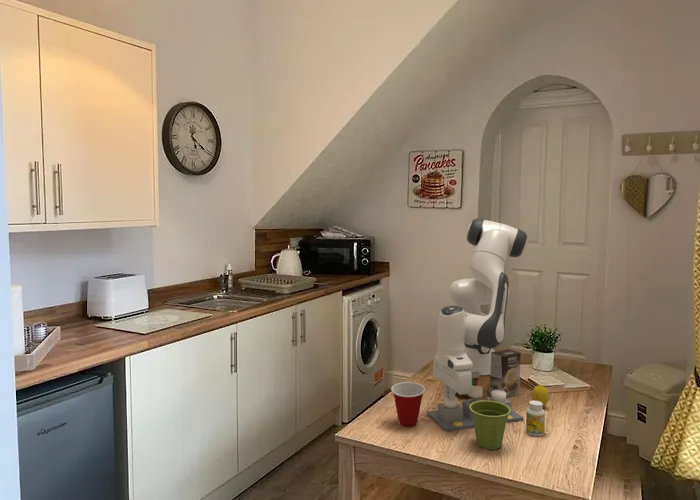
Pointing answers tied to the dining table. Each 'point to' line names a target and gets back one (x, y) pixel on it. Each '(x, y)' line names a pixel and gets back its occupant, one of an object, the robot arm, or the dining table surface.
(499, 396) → the button
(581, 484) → the dining table surface
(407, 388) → the plastic cup
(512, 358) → the coffee box
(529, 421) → the supplement bottle
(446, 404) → the button
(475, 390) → the button
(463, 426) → the button board
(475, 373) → the food container
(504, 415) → the plant pot
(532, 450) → the dining table surface
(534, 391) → the lemon
